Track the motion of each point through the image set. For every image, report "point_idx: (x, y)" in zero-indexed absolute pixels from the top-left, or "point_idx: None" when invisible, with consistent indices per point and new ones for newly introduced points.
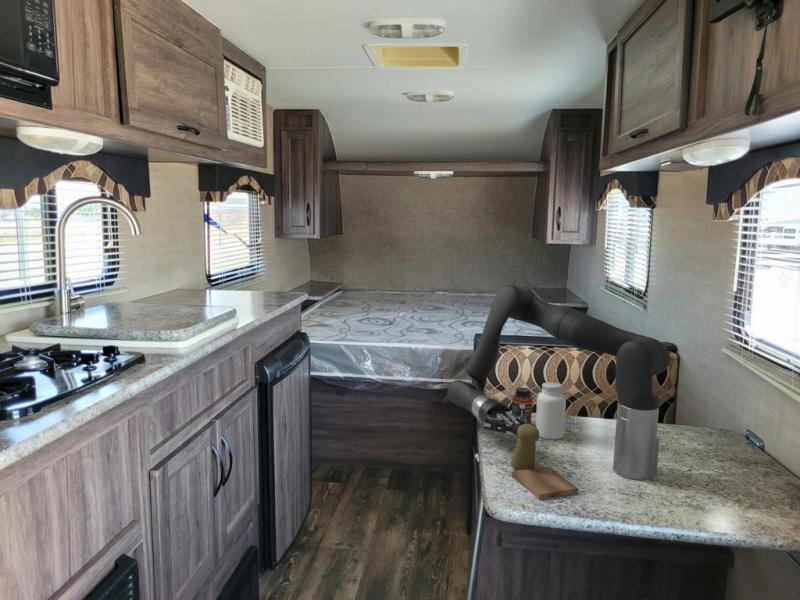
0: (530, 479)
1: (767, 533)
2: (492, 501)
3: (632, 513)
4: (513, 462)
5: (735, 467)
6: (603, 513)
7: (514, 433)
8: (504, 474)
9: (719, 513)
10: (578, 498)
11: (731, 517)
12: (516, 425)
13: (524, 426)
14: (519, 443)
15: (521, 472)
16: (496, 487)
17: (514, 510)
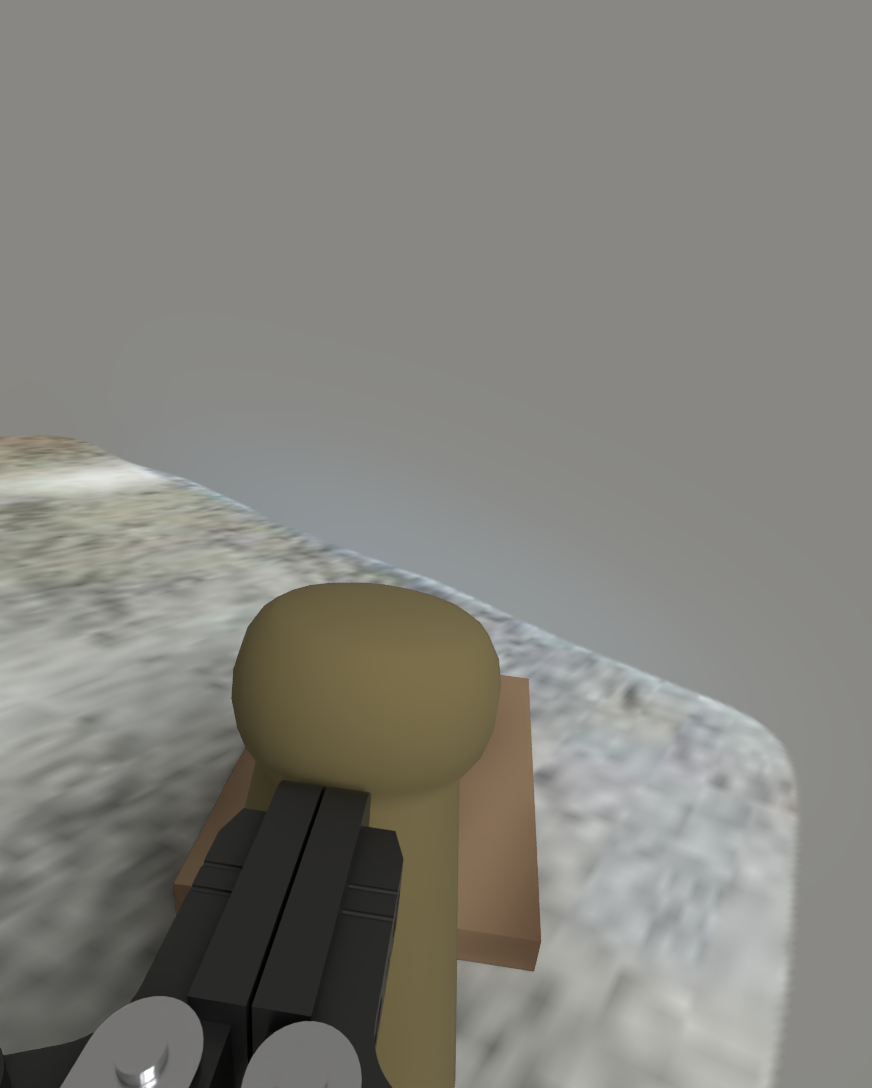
0: (474, 791)
1: (68, 447)
2: (785, 774)
3: (256, 553)
4: (455, 1035)
5: None
6: (348, 579)
7: (392, 942)
8: (582, 1035)
9: (27, 487)
10: None
11: (31, 476)
12: (284, 943)
13: (424, 617)
14: (458, 802)
15: (470, 893)
16: (724, 880)
17: (687, 691)
